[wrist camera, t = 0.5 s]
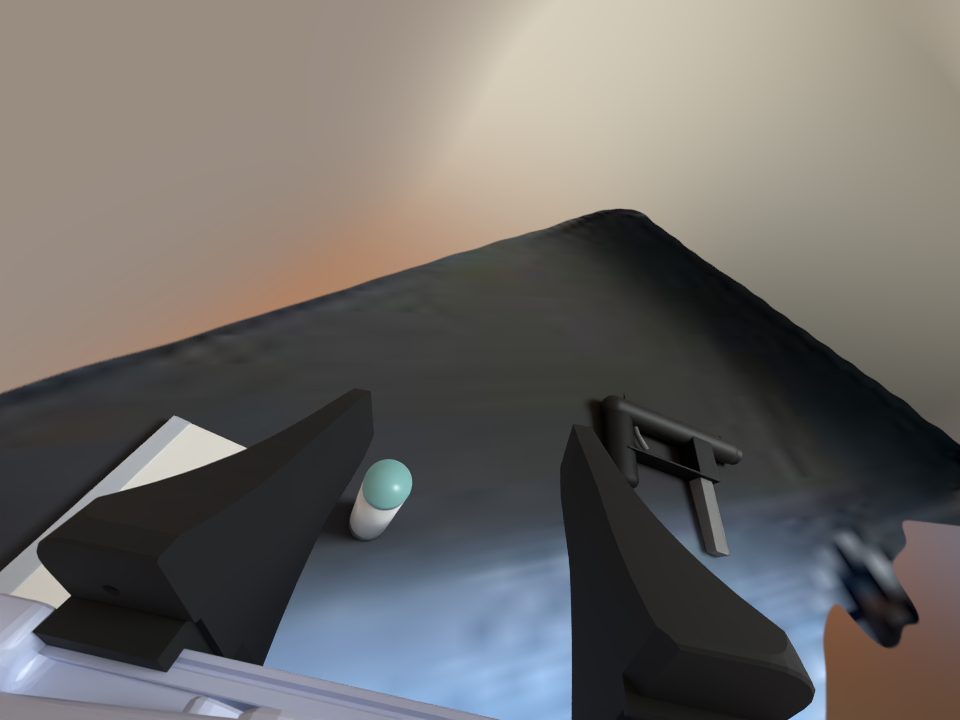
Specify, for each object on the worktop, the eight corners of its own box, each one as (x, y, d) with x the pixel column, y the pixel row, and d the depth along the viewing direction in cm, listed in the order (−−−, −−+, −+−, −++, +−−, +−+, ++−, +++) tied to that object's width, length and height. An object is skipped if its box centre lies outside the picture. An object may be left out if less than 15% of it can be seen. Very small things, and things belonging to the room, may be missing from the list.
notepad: (129, 808, 16) (122, 814, 16) (-144, 715, 15) (-163, 718, 14) (327, 487, 27) (327, 483, 27) (177, 421, 26) (174, 415, 26)
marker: (376, 547, 26) (400, 515, 20) (341, 532, 26) (354, 494, 20) (392, 511, 28) (419, 471, 22) (360, 496, 28) (377, 451, 22)
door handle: (781, 569, 37) (738, 433, 47) (618, 514, 33) (609, 380, 44) (751, 572, 39) (716, 442, 49) (597, 521, 36) (593, 393, 46)
